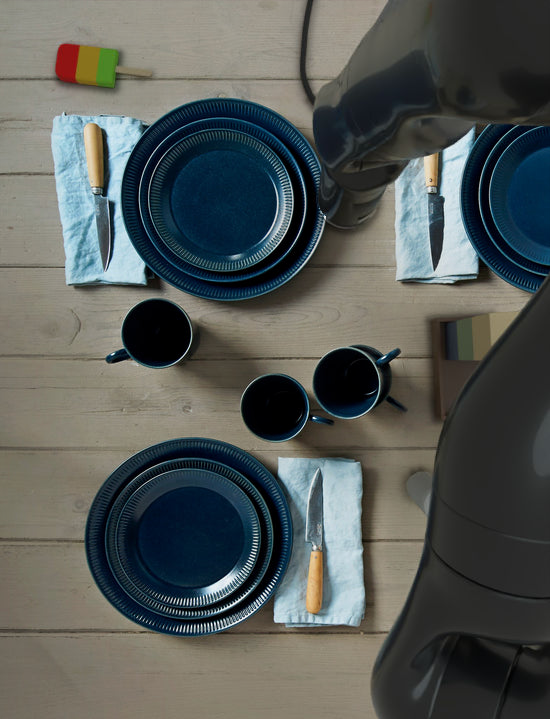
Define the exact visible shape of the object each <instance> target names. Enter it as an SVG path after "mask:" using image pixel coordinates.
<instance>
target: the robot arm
mask: <svg viewBox="0 0 550 719" xmlns="http://www.w3.org/2000/svg"><path fill="white" fill-rule="evenodd" d="M306 2H307V3H306V7H305V12H304V16H303V17H304V18H303V24H302V31H301V44H300V57H299V75H300V80H301V84H302V87H303V89H304V92H305V94H306V97H307V98H308V100H309V101H310V103H311V104H312V106H313V108H312V118H311V119H312V124H311V126H312V135H313V140H314V145H315V148H316V151H317V153H318V155H319V157H320V159H321V165H320V166H321V167H320V173H319V174H320V175H319V183H318V188H317V192H318V204H319V207H320V210H321V211H322V213H323V214H324V215H325V216H326V221H325V222H326V223H327V224H329V225H330V226H332V227H333V228H336V229H339V230H345V231H346V230H354V229H357V228H360V227H362V226H364V225H365V224H366V223H367V222H369V221H370V219H372V217H373V216H374V214H376V213H377V212H378V210H379V209H378V208H377V207H378V205H379V203H380V201H381V199H382V197H383V196H384V194H385V191H386V190H387V188H388V186H389V185H391V184H393V183H395V182H396V181H397V180H398V179H399V178H400V176H401V175H402V174H403V172H404V171H405V170H406V168H407V167H408V165H409V164H410V163H411V161H412V160H416V159H420V158H425V157H429V156H433V155H435V154H438V153H440V152H442V151H445V150H447V149H448V148H450V147H452V146H454V145H455V144H457V143H458V142H459V141H461V140H462V139H463V138H464V137H466V136H467V135H468V134H469V133H470V132H471V130H472V129H473V128H474V127H475V126H476V125H477V124H486V125H487V124H489V125H514V126H523V127H524V126H527V127H550V0H387V2H386V4H385V5H384V7H383V9H382V10H381V12H380V13H379V15H378V17H377V18H376V20H375V22H374V23H373V24H372V25H371V27H370V28H369V30H368V31H366V33H365V34H364V35H363V37H361V40H360V41H359V43H358V45H357V46H356V48H355V49H354V51H353V52H352V53H351V56H350V58H349V59H348V62H347V64H346V65H345V66H344V67H343V68H342V70H341V71H340V73H339V74H338V75H337V76H336V77H335V78H334V79H332V80H330V81H329V82H327V83H325V84H323V85H322V86H321V87H320V88H319V90H318V92H317V94H316V96H315V94H314V93H313V91H312V89H311V86H310V84H309V81H308V80H309V79H308V77H307V69H306V68H307V66H306V62H307V50H308V48H307V47H308V35H309V27H310V20H311V14H312V10H313V9H312V8H313V5H314V4H313V3H314V0H307V1H306ZM316 206H317V208H318V205H317V204H316ZM519 311H520V313H519V314H518V315H517V316H516V318H515V319H514V320H513V321H512V323H511V324H510V325H509V326H508V327H507V329H506V330H505V331H504V332H503V333H502V335H501V336H500V337H499V338H498V339H497V341H496V342H495V343H494V344H493V346H492V347H491V348H490V349H489V351H488V352H487V353H486V355H485V356H484V357H483V359H482V360H481V361H480V362H479V364H478V365H477V366H476V368H475V369H474V370H473V371H472V373H471V374H470V376H469V377H468V379H467V380H466V382H465V383H464V385H463V386H462V388H461V390H460V392H459V393H458V395H457V397H456V399H455V400H454V402H453V404H452V406H451V408H450V410H449V412H448V415H447V417H446V419H445V420H443V421H444V422H443V425H442V427H441V431H440V433H439V437H438V441H437V446H436V450H435V455H434V461H433V468H432V469H433V470H432V475H433V476H432V485H431V493H430V501H429V509H428V517H427V516H426V517H427V518H426V524H425V532H424V540H423V547H422V550H421V555H420V559H419V563H418V566H417V569H416V573H415V575H414V578H413V581H412V583H411V586H410V589H409V591H408V594H407V596H406V599H405V601H404V602H403V605H402V607H401V609H400V611H399V613H398V614H397V616H396V618H395V620H394V622H393V624H392V625H391V627H390V629H389V631H388V632H387V635H386V636H385V638H384V640H383V642H382V643H381V646H380V647H379V650H378V653H377V655H376V657H375V660H374V663H373V666H372V669H371V674H370V682H369V683H370V684H369V686H370V688H369V689H370V697H371V702H372V706H373V710H374V713H375V715H376V718H377V719H550V271H549V272H548V273H547V275H546V276H545V278H544V280H543V281H542V283H540V285H539V286H538V288H537V289H536V290H535V292H534V294H532V296H531V297H530V298H529V300H528V301H527V302H526V303H525V305H524V306H523V307H522V309H521V310H519Z"/></svg>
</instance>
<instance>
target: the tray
mask: <svg viewBox="0 0 550 719" xmlns="http://www.w3.org/2000/svg"><path fill="white" fill-rule="evenodd" d="M475 316H476V315H471V316H470V315H467V316H452V317H450V316H449V317H437V318H432V319H430V328H431V329H430V330H431V347H432V362H433V363H432V365H433V383H434V400H435V417H436V419H439V420H441V421H445V419H446V417H447V415H448V412H449V410H450V408H451V406H452V404H453V402H454V400H455V399H456V397H457V395H458V393H459V392H460V390H461V388H462V386H463V385H464V383H465V382H466V380H467V379H468V377H469V376H470V374H471V373H472V371H473V370H474V369H475V368H476V366H477V365H478V364H479V362H480V361H481V360H446V351H445V333H444V324H446V323H450V322H455V321H459V320H463V319H467V318H471V317H475Z"/></svg>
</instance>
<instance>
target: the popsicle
mask: <svg viewBox="0 0 550 719" xmlns="http://www.w3.org/2000/svg"><path fill="white" fill-rule="evenodd" d="M119 56H120V53H119V50H118V49H114V48H107V47H98V46H91V45H90V46H89V45H83V44H75V43H74V44H73V43H66V42H65V43H61V44H60V45H59V46H58V48H57V52H56V58H55V59H56V60H55V67H54V73H55V75H56V76H57V78H58V79H59V80H60V81H62V82H66V83H73V84H81V85H88V86H95V87H96V86H97V87H104V88H112V89H113V88H114V87H115V84H116V78H117V74H124V75H130V76H138V77H139V76H140V77H146V78H147V77H152V74H153V72H152V70H151V69H146V68H137V67H131V66H122V65H118V63H119Z"/></svg>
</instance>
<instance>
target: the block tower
mask: <svg viewBox="0 0 550 719" xmlns="http://www.w3.org/2000/svg"><path fill="white" fill-rule="evenodd" d="M520 311H521V310H518V311H499V312H487V313H483V314H480V315H474V316H475V317H471V318H467V319H463V320H459V321H455V322H450V323H446V324H444V333H445V351H446V360H482V359H483V357H484V356H485V355H486V353H487V352H488V351H489V349H490V348H491V347H492V346H493V344H494V343H495V342H496V341H497V339H498V338H499V337H500V336H501V335H502V333H503V332H504V331H505V330H506V329H507V327H508V326H509V325H510V324H511V323H512V321H513V320H514V319H515V318H516V316H517V315H518V314H519V313H520Z"/></svg>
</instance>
